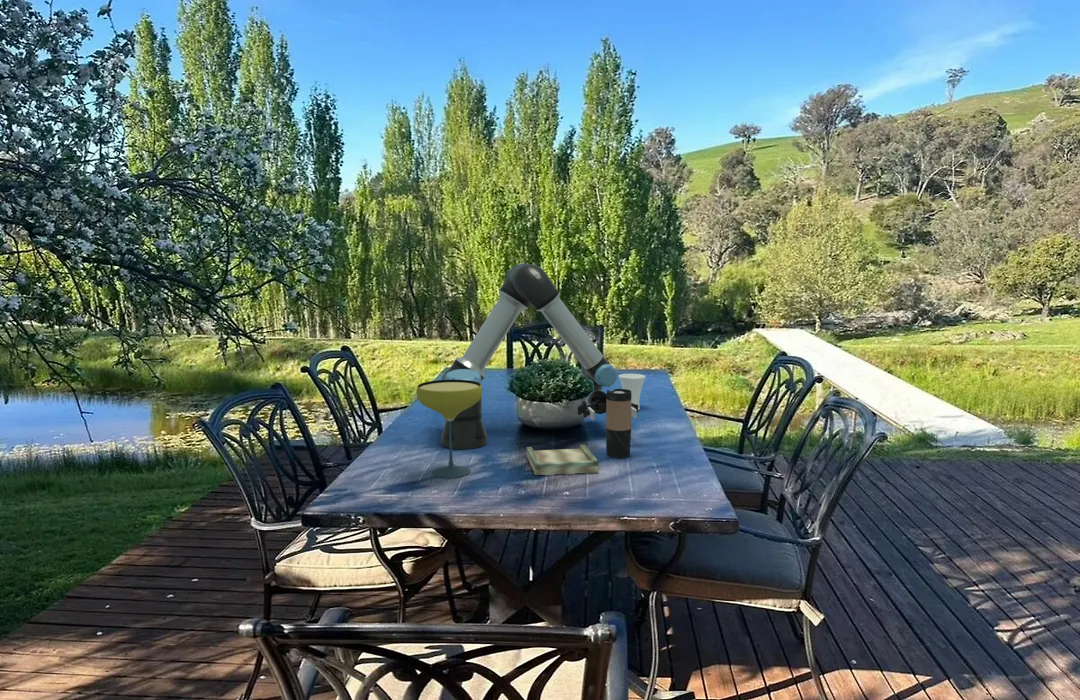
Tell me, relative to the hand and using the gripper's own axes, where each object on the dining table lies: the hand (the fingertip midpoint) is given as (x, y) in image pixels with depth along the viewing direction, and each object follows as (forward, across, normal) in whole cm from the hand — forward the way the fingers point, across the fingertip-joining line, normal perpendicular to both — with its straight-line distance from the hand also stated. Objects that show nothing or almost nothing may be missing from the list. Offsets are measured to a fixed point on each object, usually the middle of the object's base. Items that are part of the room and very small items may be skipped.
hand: (614, 415), depth 216 cm
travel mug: (+7, +1, -11) cm, 13 cm away
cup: (-54, -22, -11) cm, 59 cm away
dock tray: (+14, +20, -11) cm, 26 cm away
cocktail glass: (+15, +52, -11) cm, 55 cm away
